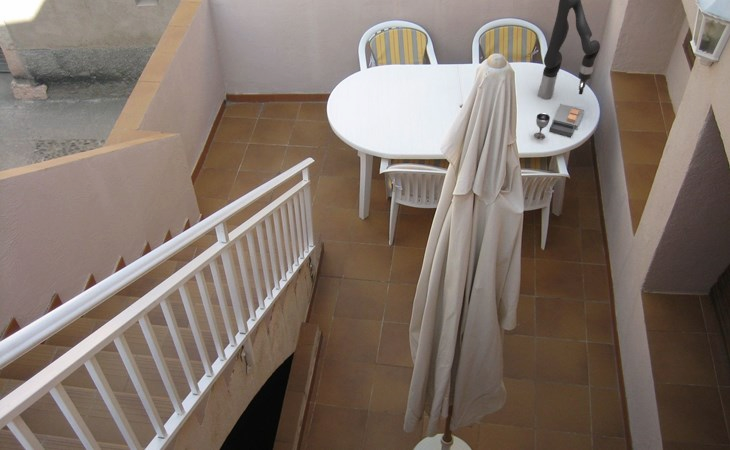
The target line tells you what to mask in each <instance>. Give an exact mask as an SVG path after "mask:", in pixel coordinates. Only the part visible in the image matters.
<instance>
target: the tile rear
mask: <svg viewBox="0 0 730 450" xmlns="http://www.w3.org/2000/svg"><path fill="white" fill-rule="evenodd" d="M570 114H572V115H576V116H578V114H579V110H577V109H573V108H572V109H571V111H570Z"/></svg>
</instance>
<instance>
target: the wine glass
mask: <svg viewBox="0 0 730 450" xmlns="http://www.w3.org/2000/svg"><path fill="white" fill-rule="evenodd" d="M535 118H536V120H535V121H536V122H535V123H536V126H537V127H538V128H539V132H535V133H534V134H533V138H535V139H536V140H541V141H542V140H544V139H545V138H546V136H545V134H544V133H542V130H543V129H544V128H547V126H548V124H549V123H550V119H551V116H550V115H549V114H547V113H543V112H541V113H539V114H537V115H536V117H535Z"/></svg>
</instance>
